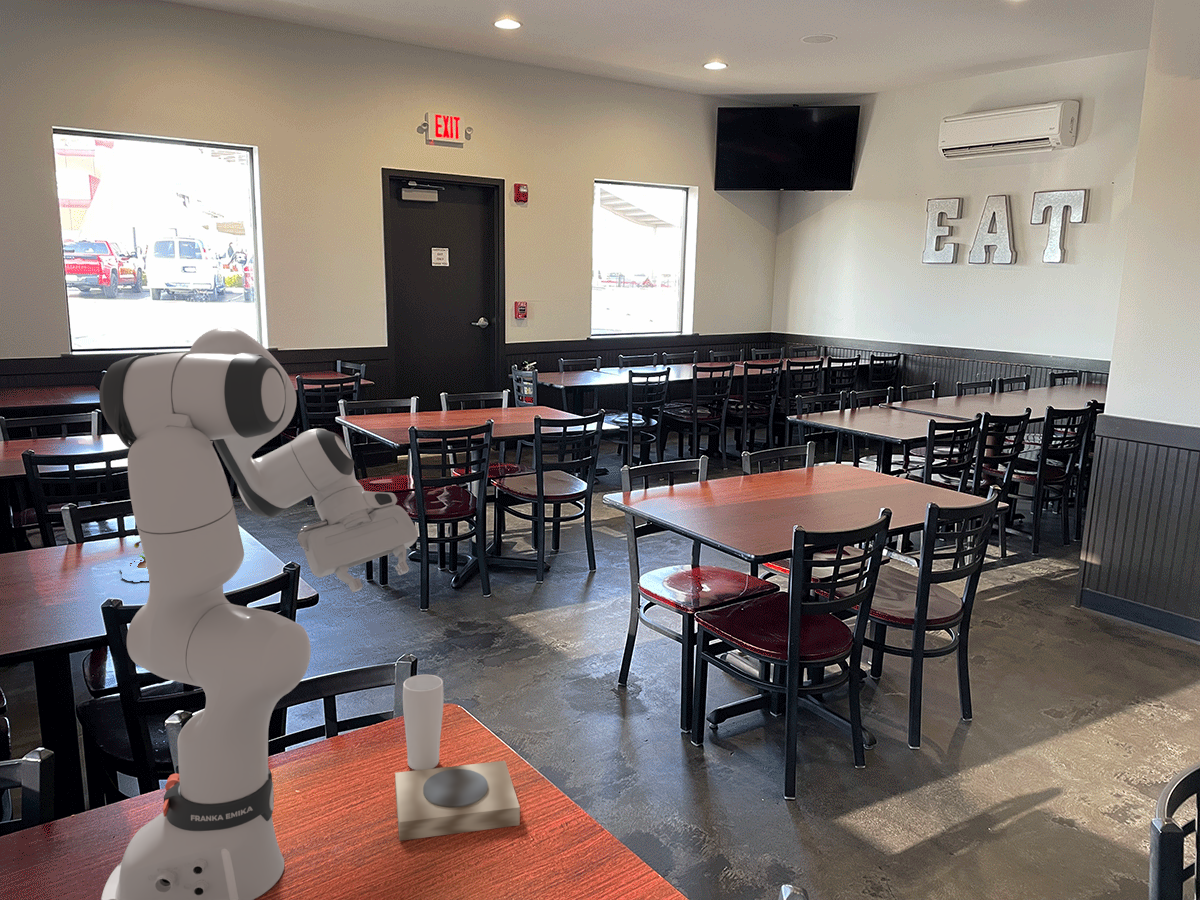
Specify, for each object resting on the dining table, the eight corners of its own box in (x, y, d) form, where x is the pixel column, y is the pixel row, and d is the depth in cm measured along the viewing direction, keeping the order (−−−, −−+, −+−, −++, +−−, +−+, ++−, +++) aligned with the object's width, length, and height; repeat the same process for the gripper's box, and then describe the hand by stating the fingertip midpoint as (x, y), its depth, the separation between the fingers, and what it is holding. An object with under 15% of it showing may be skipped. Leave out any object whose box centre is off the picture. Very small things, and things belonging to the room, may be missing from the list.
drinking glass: (434, 777, 147) (434, 693, 145) (396, 771, 149) (395, 688, 146) (449, 757, 154) (449, 676, 151) (412, 752, 155) (412, 672, 153)
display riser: (399, 840, 130) (399, 818, 129) (395, 789, 143) (395, 769, 143) (519, 825, 135) (520, 803, 134) (504, 777, 148) (505, 757, 147)
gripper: (298, 521, 146) (334, 593, 143) (401, 491, 161) (436, 556, 157) (287, 537, 151) (321, 608, 147) (388, 507, 165) (422, 570, 162)
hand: (381, 581), depth 153 cm, fingers open, 8 cm apart
